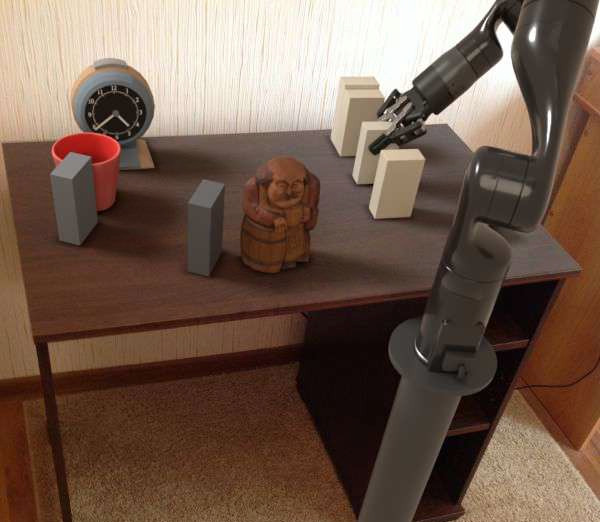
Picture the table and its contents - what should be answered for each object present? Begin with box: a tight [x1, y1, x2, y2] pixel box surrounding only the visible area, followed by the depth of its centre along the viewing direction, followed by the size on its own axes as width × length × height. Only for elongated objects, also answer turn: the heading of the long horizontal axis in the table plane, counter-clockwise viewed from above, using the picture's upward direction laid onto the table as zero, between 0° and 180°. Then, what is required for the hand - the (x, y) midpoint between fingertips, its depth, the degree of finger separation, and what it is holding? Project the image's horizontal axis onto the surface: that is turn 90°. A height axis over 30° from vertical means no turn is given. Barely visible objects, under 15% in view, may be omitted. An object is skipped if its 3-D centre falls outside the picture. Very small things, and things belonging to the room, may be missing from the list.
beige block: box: [351, 120, 403, 185], centre depth 140 cm, size 7×3×11 cm, turn 105°
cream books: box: [330, 76, 426, 220], centre depth 141 cm, size 29×7×13 cm, turn 15°
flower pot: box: [51, 132, 121, 212], centre depth 126 cm, size 11×11×10 cm
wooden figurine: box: [239, 155, 321, 274], centre depth 117 cm, size 12×6×18 cm, turn 119°
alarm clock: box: [69, 57, 156, 171], centre depth 133 cm, size 14×10×18 cm
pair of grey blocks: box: [49, 152, 226, 277], centre depth 117 cm, size 7×25×13 cm, turn 77°
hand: (368, 146), depth 138 cm, fingers closed on beige block, 3 cm apart
